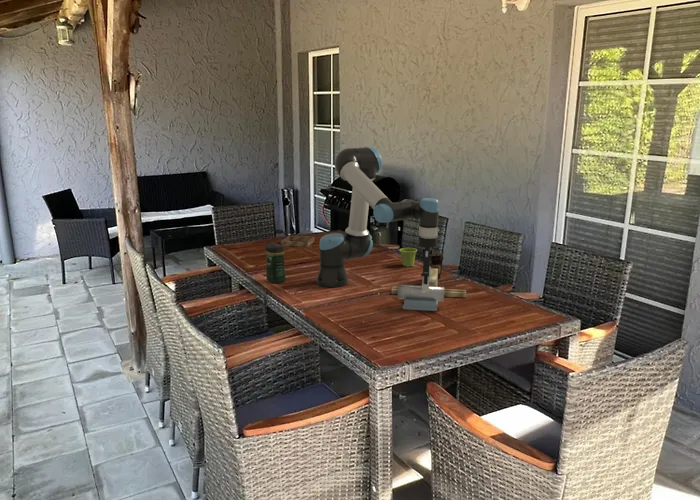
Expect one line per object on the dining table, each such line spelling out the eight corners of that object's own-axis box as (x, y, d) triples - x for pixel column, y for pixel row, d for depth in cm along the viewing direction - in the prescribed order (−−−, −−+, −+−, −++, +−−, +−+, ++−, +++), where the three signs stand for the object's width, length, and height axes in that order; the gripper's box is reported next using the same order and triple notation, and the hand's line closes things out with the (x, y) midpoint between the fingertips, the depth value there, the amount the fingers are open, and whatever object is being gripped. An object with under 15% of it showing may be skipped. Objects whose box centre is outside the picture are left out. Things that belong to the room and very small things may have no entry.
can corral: (281, 246, 347) (280, 241, 346) (289, 240, 363) (288, 235, 362) (307, 247, 344) (307, 242, 343) (314, 241, 360) (314, 236, 359)
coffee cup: (442, 282, 268) (443, 256, 265) (424, 281, 270) (425, 255, 267) (443, 277, 277) (443, 252, 274) (426, 277, 278) (426, 251, 275)
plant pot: (396, 266, 297) (397, 250, 295) (402, 262, 306) (402, 247, 304) (414, 268, 294) (414, 252, 292) (418, 264, 303) (419, 248, 300)
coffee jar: (288, 281, 272) (286, 244, 268) (273, 284, 268) (271, 246, 264) (278, 277, 280) (277, 240, 276) (264, 279, 276) (262, 243, 271)
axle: (397, 300, 234) (397, 287, 233) (399, 296, 240) (399, 283, 239) (443, 303, 231) (444, 289, 229) (444, 299, 236) (444, 285, 235)
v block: (402, 309, 232) (402, 301, 232) (404, 301, 242) (405, 293, 241) (436, 310, 230) (437, 302, 229) (437, 303, 239) (437, 295, 239)
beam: (389, 298, 246) (389, 277, 244) (394, 286, 263) (394, 266, 261) (466, 302, 240) (467, 281, 238) (465, 289, 257) (466, 269, 255)
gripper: (436, 244, 216) (434, 296, 221) (438, 230, 240) (436, 277, 245) (416, 243, 217) (415, 295, 222) (421, 229, 241) (419, 276, 246)
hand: (426, 286), depth 234 cm, fingers open, 13 cm apart
